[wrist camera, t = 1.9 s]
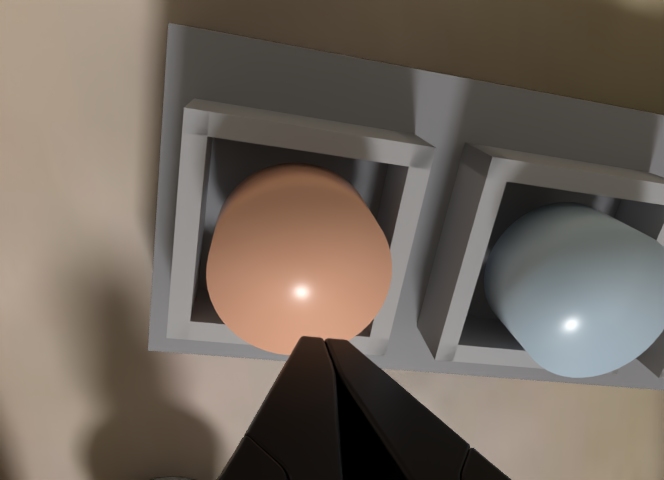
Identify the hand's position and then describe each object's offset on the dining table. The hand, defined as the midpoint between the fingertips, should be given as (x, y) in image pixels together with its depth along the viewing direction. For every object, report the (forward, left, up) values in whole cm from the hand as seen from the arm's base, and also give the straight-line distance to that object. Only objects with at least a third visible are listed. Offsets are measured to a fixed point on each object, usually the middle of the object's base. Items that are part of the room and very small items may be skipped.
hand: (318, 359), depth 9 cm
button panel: (-8, 0, -10) cm, 13 cm away
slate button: (-8, 0, -6) cm, 10 cm away
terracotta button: (0, 0, -6) cm, 6 cm away
